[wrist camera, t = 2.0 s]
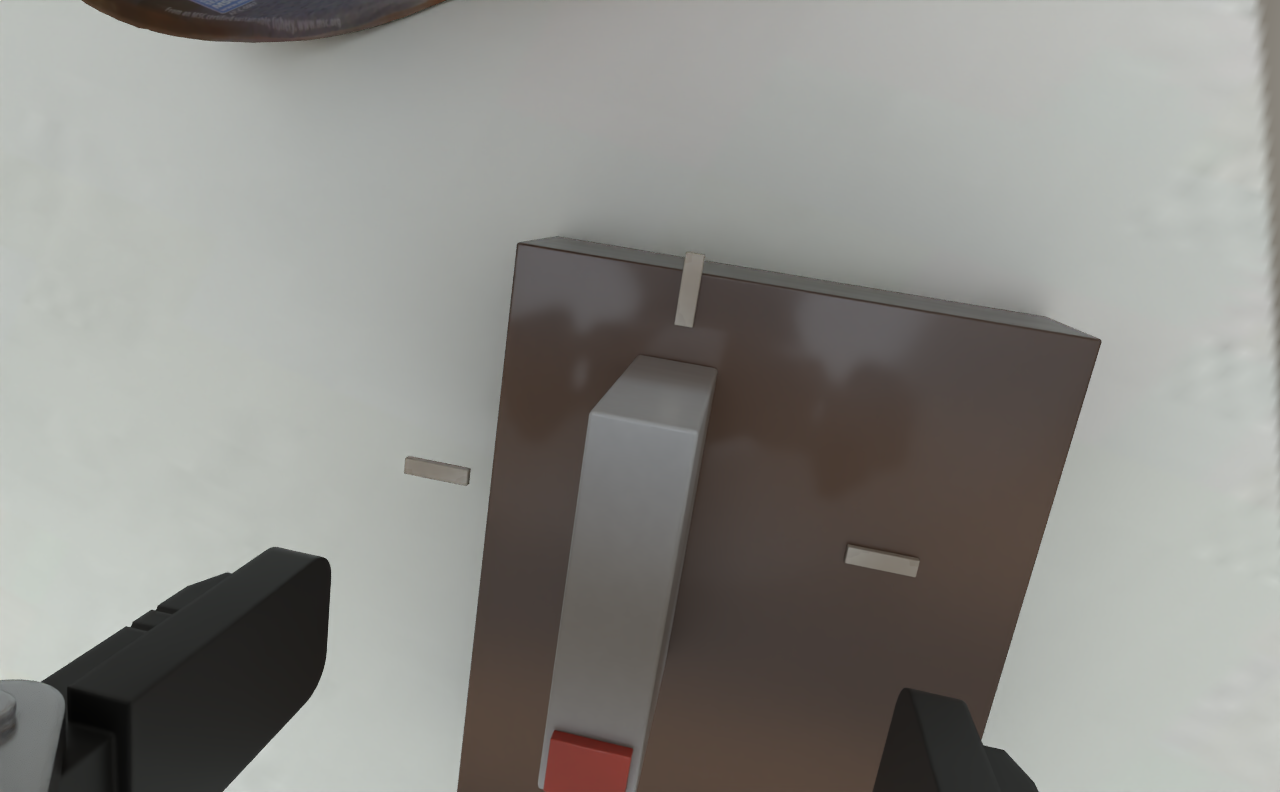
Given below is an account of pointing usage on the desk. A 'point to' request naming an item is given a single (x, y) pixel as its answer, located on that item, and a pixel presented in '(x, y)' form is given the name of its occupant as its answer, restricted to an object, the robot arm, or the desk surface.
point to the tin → (258, 17)
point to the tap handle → (624, 573)
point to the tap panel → (774, 509)
